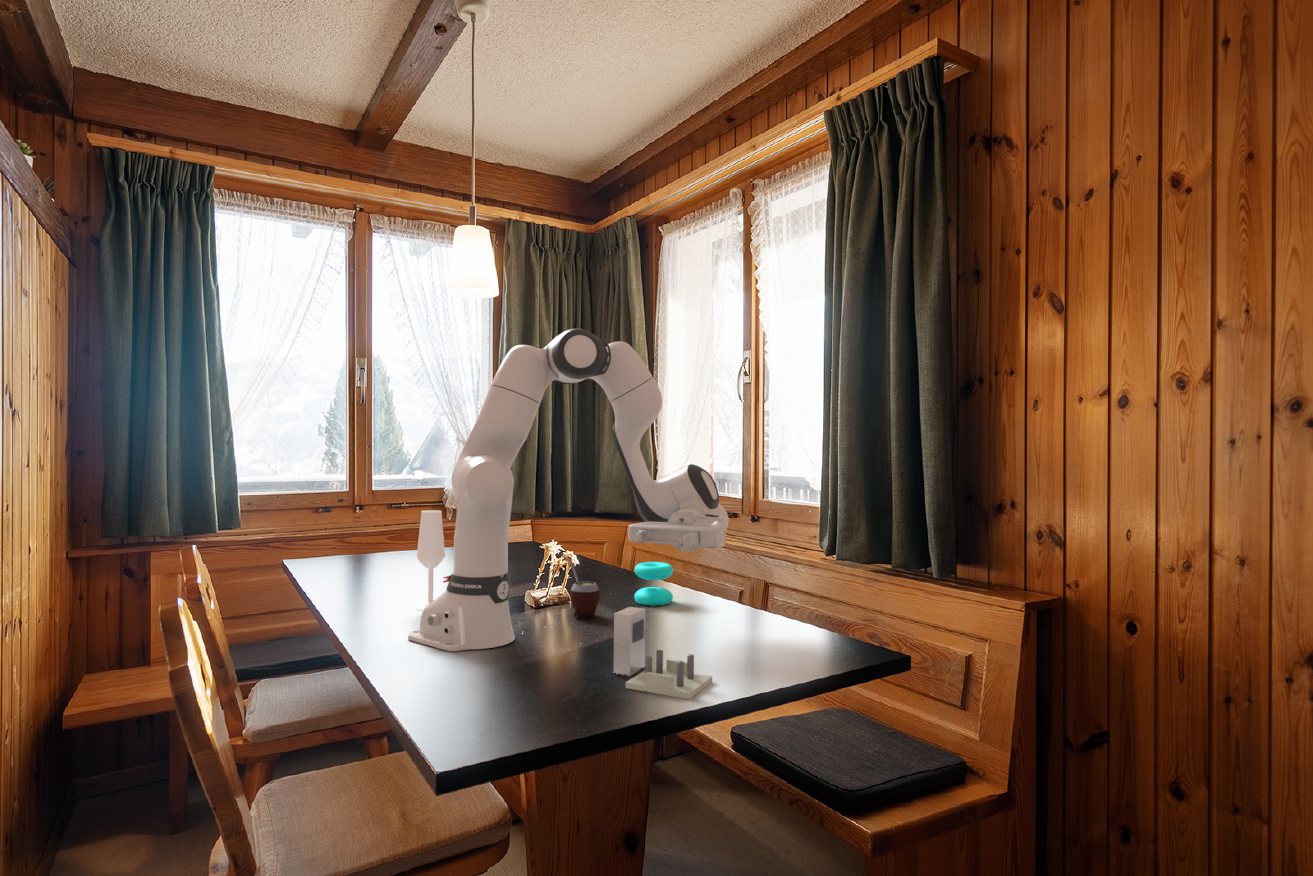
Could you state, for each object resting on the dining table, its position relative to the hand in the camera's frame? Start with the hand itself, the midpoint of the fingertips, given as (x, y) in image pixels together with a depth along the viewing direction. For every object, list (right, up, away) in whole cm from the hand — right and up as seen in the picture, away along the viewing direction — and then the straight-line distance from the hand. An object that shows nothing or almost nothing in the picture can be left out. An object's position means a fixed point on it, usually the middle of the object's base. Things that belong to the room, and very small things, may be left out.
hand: (659, 539), depth 151 cm
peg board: (+2, -23, -19) cm, 30 cm away
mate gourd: (-18, -23, +30) cm, 41 cm away
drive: (-6, -23, -11) cm, 26 cm away
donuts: (-1, -23, +46) cm, 51 cm away
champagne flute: (-57, -22, +37) cm, 71 cm away
